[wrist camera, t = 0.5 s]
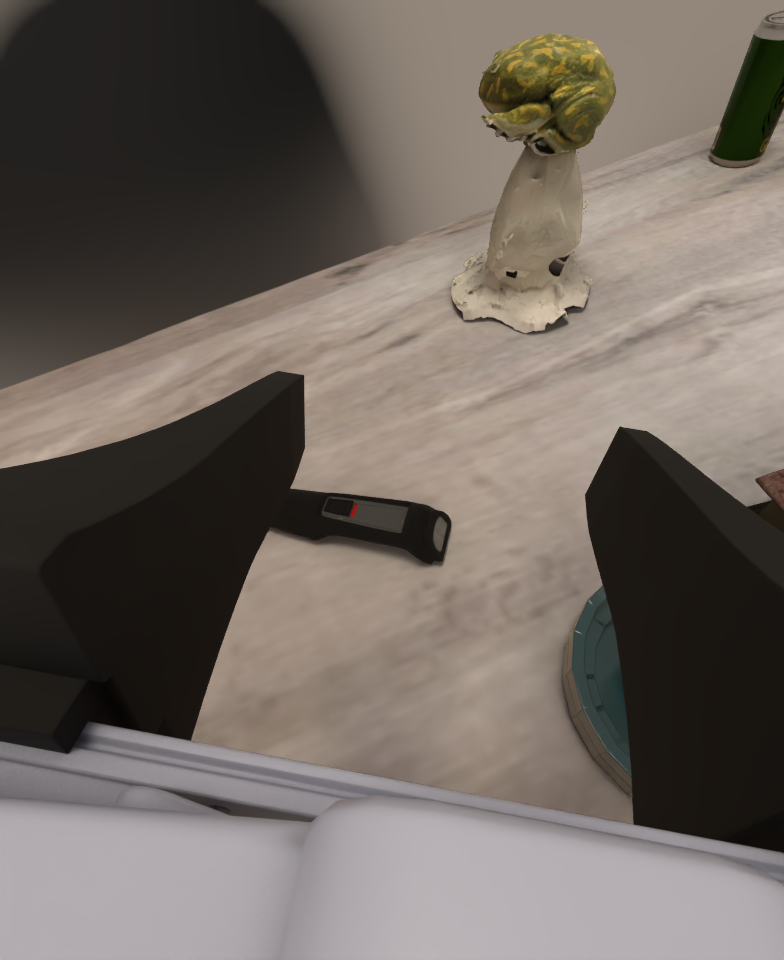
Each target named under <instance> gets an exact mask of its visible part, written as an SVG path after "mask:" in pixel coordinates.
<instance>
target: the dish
mask: <svg viewBox="0 0 784 960" xmlns="http://www.w3.org/2000/svg"><path fill="white" fill-rule="evenodd" d="M562 681H563V682H562V683H563V687H564V691H565V695H566V699H567V703H568V707H569V711H570V715H571V718H572V721H573V723H574V725H575V726H576V728H577V730H578V732H579V734H580V735H581V737H582V739H583V741H584V743H585V744H586V746H587V748H588V750H589V752H590V753H591V755H592V757H594V759H595V760H596V761H597V762H598V764H599V765H600V766H601V767H602V768H603V769H604V770H605V771H606V772H607V773H608V774H609V775H610V776H611V777H612V778H613V780H614V781H615V782H616V783H617V784H618V785H619V786H620V787H621V788H622V789H623V790H624V791H625V792H626V793H627V794H628V795H630V796H632V779H631V763H630V751H629V739H628V727H627V716H626V708H625V699H624V691H623V682H622V674H621V667H620V660H619V654H618V647H617V640H616V634H615V630H614V625H613V621H612V616H611V612H610V609H609V605H608V601H607V598H606V594H605V590H604V587H603V586H602V587H601V588H600V589H599V590H598V591H597V592H596V593H595V594H594V595H593V596H591V597H590V598H589V599H588V600H587V602H586V604H585V605H584V607H583V609H582V611H581V613H580V614H579V616H578V618H577V620H576V622H575V624H574V626H573V629H572V631H571V633H570V635H569V638H568V640H567V642H566V644H565V647H564V660H563V675H562Z"/></svg>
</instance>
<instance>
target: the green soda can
mask: <svg viewBox="0 0 784 960" xmlns="http://www.w3.org/2000/svg"><path fill="white" fill-rule="evenodd" d="M783 109H784V11H778V12H773V13H770V14H767V15H765V16H764V17H762V20H761V24H760V25H759V26H758V27H757V29H756V30H755V32H754V35H753V38H752V40H751V43H750V45H749V48H748V51H747V54H746V56H745V59H744V62H743V64H742V67H741V70H740V73H739V75H738V78H737V81H736V83H735V86H734V89H733V91H732V94H731V97H730V100H729V102H728V105H727V108H726V111H725V113H724V116H723V119H722V121H721V124H720V127H719V130H718V132H717V135H716V138H715V140H714V143H713V146H712V149H711V159H712V161H713V162H714V163H716V164H718V165H721V166H726V167H744V166H749V165H752V164H754V163H755V162H756V161H757V160H758V159H759V158H760V157H761V156H762V155H763V154H764V152H765V149H766V147H767V145H768V143H769V141H770V138H771V136H772V134H773V132H774V129H775V127H776V125H777V123H778V121H779V118H780V116H781V114H782V112H783Z"/></svg>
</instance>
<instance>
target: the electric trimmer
mask: <svg viewBox="0 0 784 960" xmlns="http://www.w3.org/2000/svg"><path fill="white" fill-rule="evenodd" d="M271 527H274V528H277V529H280V530H284V531H287V532H290V533H293V534H296V535H299V536H303V537H306V538H310V539H313V540H318V539H321V538H324V537H326V536H343V537H348V538H353V539H358V540H363V541H368V542H373V543H378V544H383V545H388V546H393V547H398V548H402V549H405V550H407V551H409V552H410V553H411V554H413V555H414V556H415V557H416V558H418V559H420V560H421V561H423V562H426V563H429V564H432V563H433V561H439V562H443V560H444V559H445V557H444V556H445V555H446V554H445V552H446V551H447V549H446V548H447V546H448V545H447V544H448V541H449V537H450V531H451V520H450V518H449V516H448V515H447V514H446V513H444V512H442V511H438V510H435V509H433V508H431V507H430V506H428V505H424V504H418V503H413V502H409V501H401V500H393V499H384V498H376V497H367V496H359V495H350V494H339V493H324V492H315V491H306V490H298V489H289V491H288V493H287V495H286V497H285V499H284V501H283V503H282V505H281V507H280V509H279V511H278V513H277V515H276V517H275V519H274V521H273V523H272V524H271Z"/></svg>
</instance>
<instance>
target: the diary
mask: <svg viewBox="0 0 784 960" xmlns="http://www.w3.org/2000/svg"><path fill="white" fill-rule="evenodd" d="M755 480H756V482H757V483H758V484H759V485H760V487H761V488H762V489H763V490H764V491H765V492H766V493H767V495H768V496H769V497H770V498H771V499H772V501H768V502H764V503H760V504H756V505H753V506H749V507H747V508H749V509H750V510H752V511H753V512H754V513H756V514H757V515H759V516H760V517H761V518H763V519H764V520H766V521H767V522H768V523H770V524H771V525H773V526H774V527H776V528H777V529H779V530H780V531H782V532H783V533H784V469H782V470H779V471H776V472H773V473H770V474H767V475H765V476H762V477H759V478H757V479H755Z"/></svg>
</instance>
